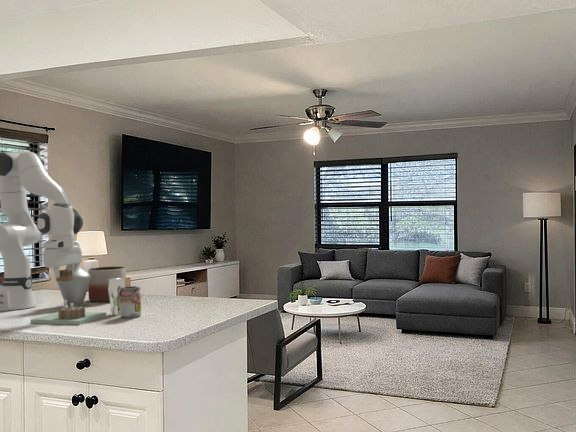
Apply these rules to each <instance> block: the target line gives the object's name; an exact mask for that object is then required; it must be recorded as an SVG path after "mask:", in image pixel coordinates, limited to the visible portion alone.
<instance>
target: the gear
mask: <svg viewBox="0 0 576 432" xmlns="http://www.w3.org/2000/svg"><path fill="white" fill-rule="evenodd" d="M59 272H60V273H61V277H60V278H56V277H55V282H57V281H70V280H73V276H72V270H65V269H59Z"/></svg>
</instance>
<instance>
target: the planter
mask: <svg viewBox="0 0 576 432" xmlns="http://www.w3.org/2000/svg"><path fill="white" fill-rule="evenodd" d="M87 270H88V272H87V273H88V274H89V275H90V282H89V286H88V289H87V290H88V301H90V302H92V303H110V299H109V294H108V279H110V278H125V287H127V276H126V275H127V273H126V266H118V265H117V266H116V265H115V266H114V265H113V266H97V267H90V268H88V269H87Z"/></svg>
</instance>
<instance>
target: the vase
mask: <svg viewBox="0 0 576 432" xmlns="http://www.w3.org/2000/svg"><path fill="white" fill-rule="evenodd" d="M81 253H82V254H83V251H81ZM64 270H69V267H68V265H65V268H64ZM72 276H73V280H70V281H56V282H57V286H58V288H59V290H60V294H61V297H62V299H63V302H64V301H65V300H66V302H67V306H68V307H70V303H73V306H76V307H83V303H84V301H85V298H86V295H87V292H88V290H89V289H88V286H89V282H90V275H89V274H88V272H87V271H85V270H84V269H83V268H82V266H81V263H77V264H75V267H74V270H73V275H72Z"/></svg>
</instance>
